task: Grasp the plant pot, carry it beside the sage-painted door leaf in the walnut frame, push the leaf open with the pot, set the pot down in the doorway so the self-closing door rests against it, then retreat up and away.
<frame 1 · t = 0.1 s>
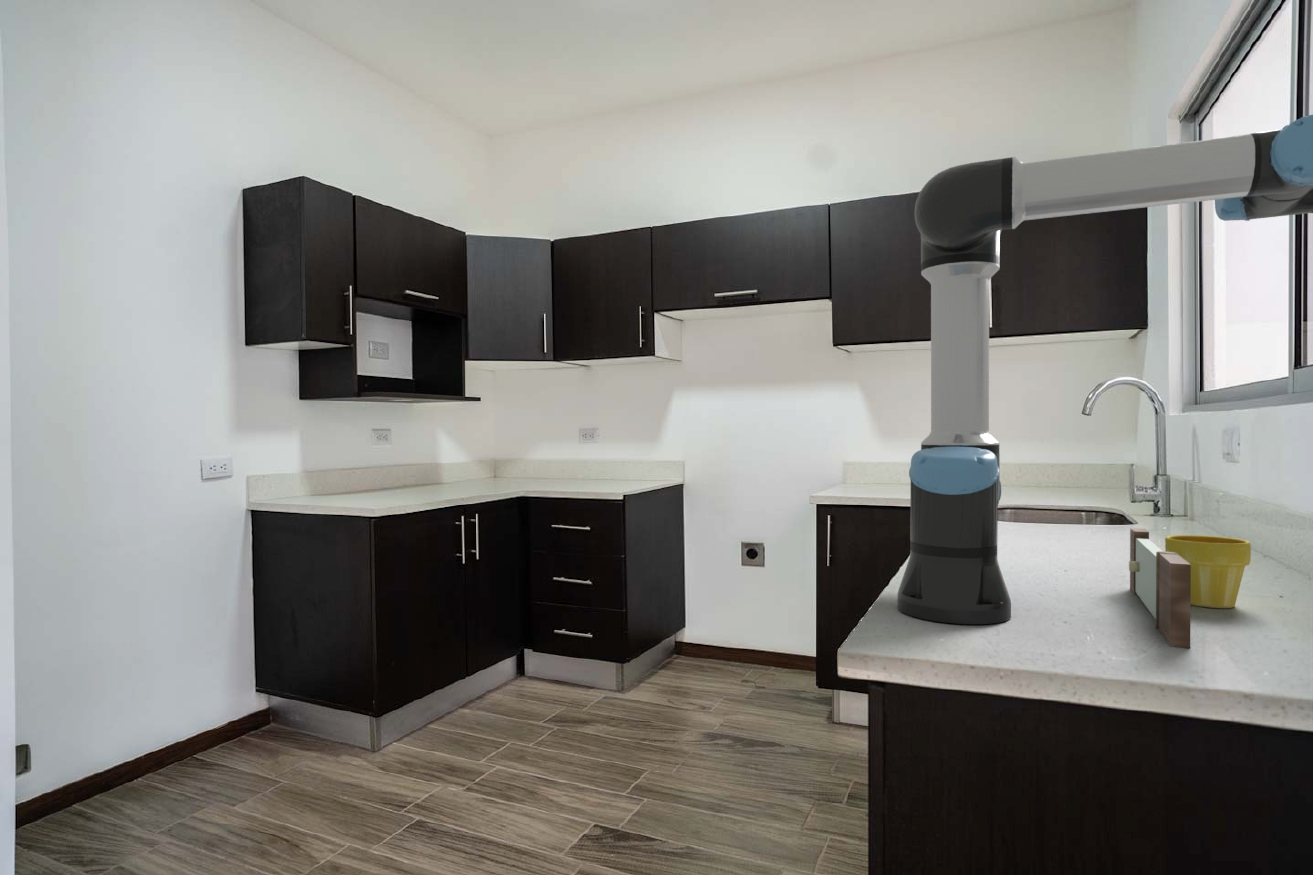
plant pot: (1206, 604, 114), on the counter
door leaf: (1147, 576, 110), point 5 cm above the counter, hinge at 0.0°
door frame: (1152, 609, 110), on the counter
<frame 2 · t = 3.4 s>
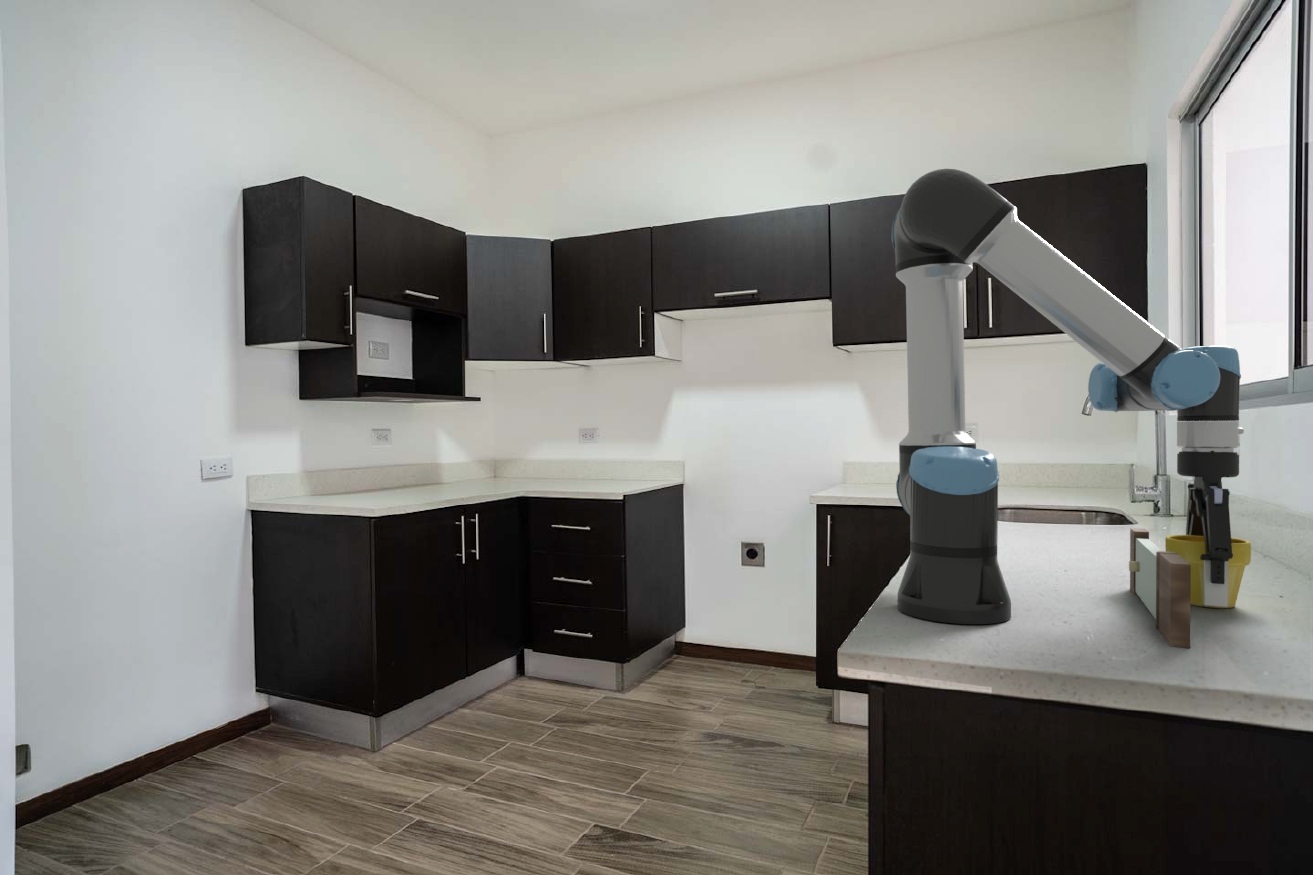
hand: (1206, 597, 114), 1 cm above the counter, fingers closed on plant pot, 10 cm apart
plant pot: (1206, 604, 114), on the counter, touching gripper
everything else where it was.
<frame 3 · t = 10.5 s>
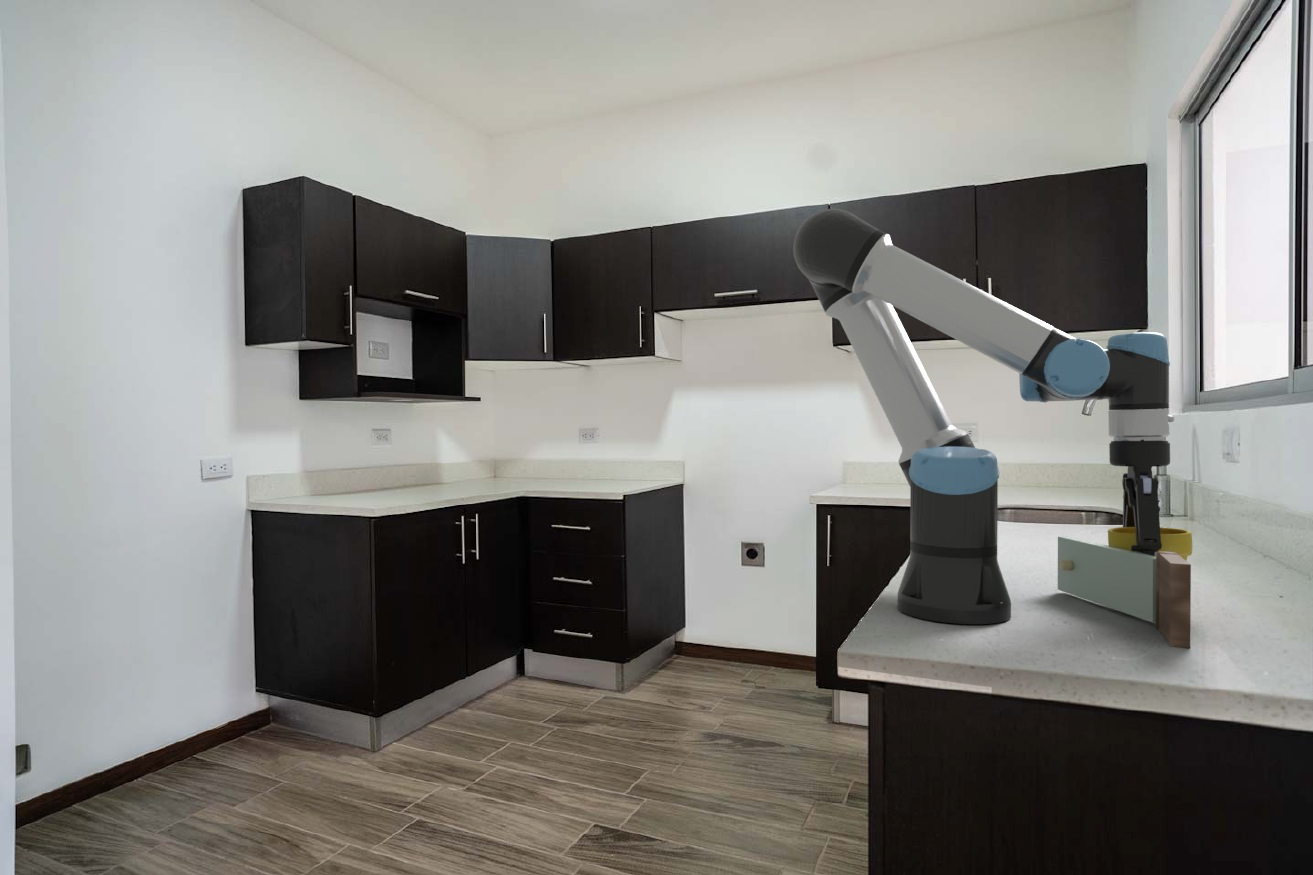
hand: (1141, 589, 111), 3 cm above the counter, fingers closed on plant pot, 10 cm apart
plant pot: (1151, 597, 111), point 1 cm above the counter, touching gripper
door leaf: (1102, 575, 111), point 5 cm above the counter, hinge at 30.0°, touching gripper
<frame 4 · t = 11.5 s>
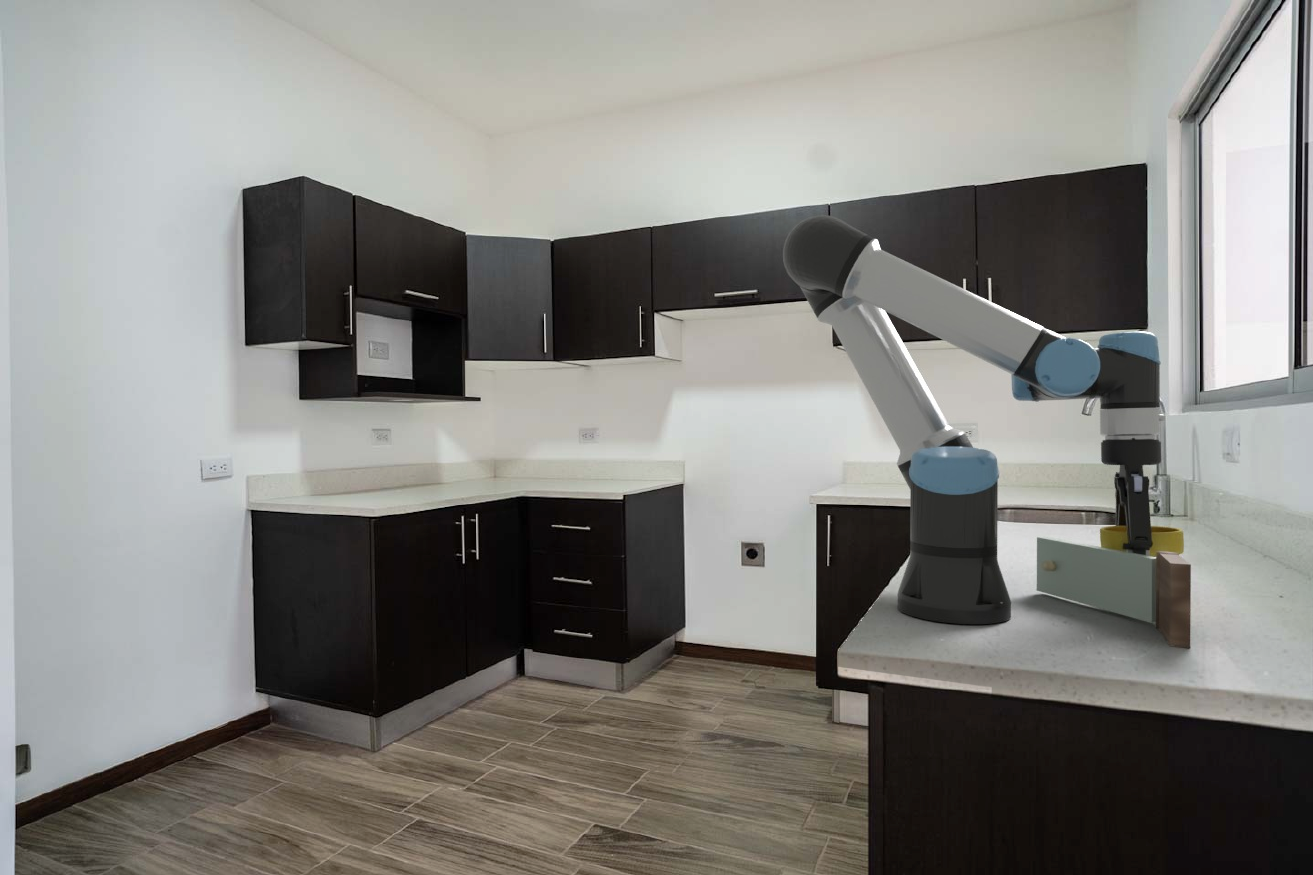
hand: (1133, 588, 112), 3 cm above the counter, fingers closed on plant pot, 10 cm apart
plant pot: (1143, 596, 111), point 2 cm above the counter, touching gripper
door leaf: (1090, 576, 110), point 5 cm above the counter, hinge at 39.7°, touching gripper
when the fingers open (3 cm above the counter, at t = 12.3 s): plant pot drops 2 cm, on the counter.
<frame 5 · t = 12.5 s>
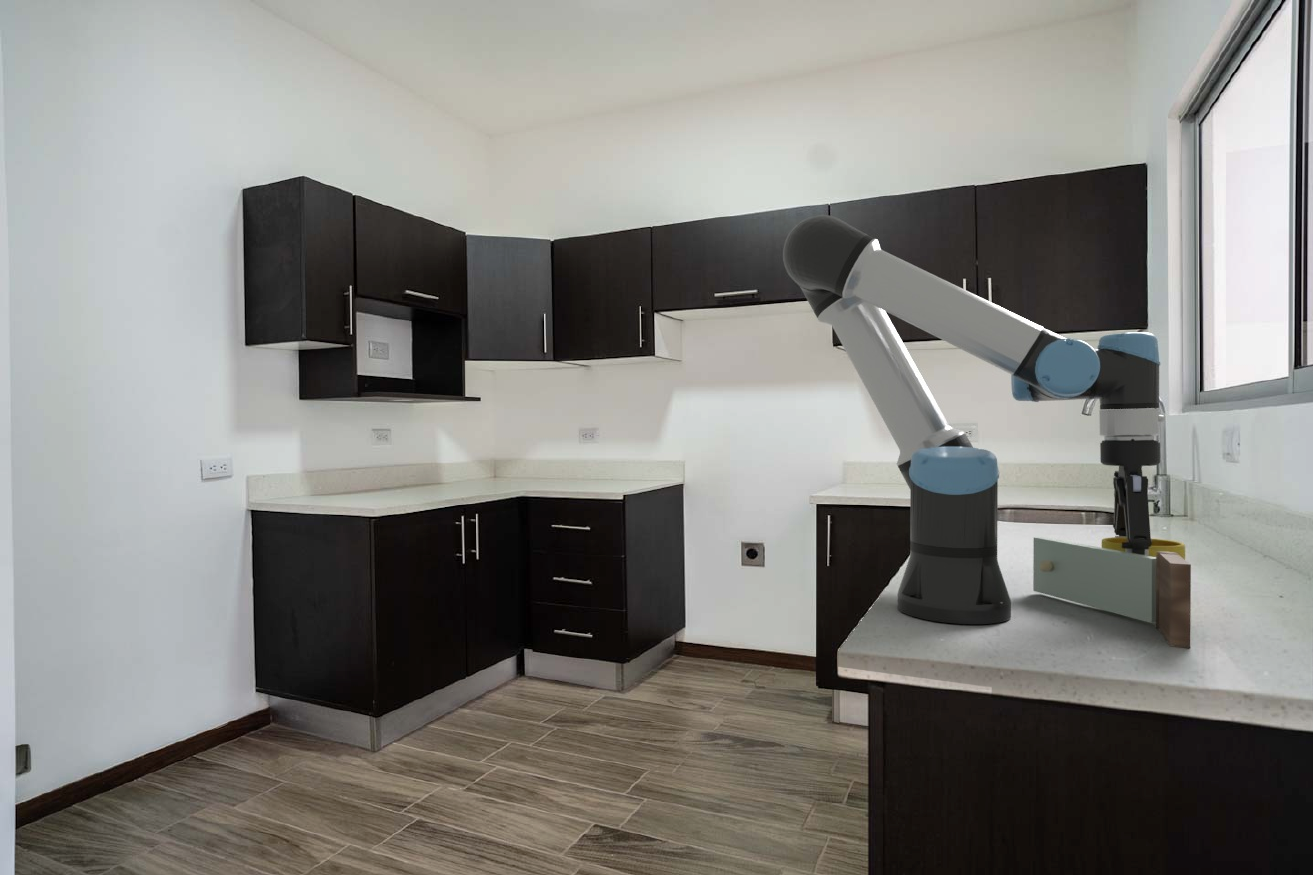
hand: (1131, 586, 112), 3 cm above the counter, fingers open, 11 cm apart
plant pot: (1142, 608, 111), on the counter, touching gripper
door leaf: (1088, 576, 110), point 5 cm above the counter, hinge at 41.4°, touching gripper
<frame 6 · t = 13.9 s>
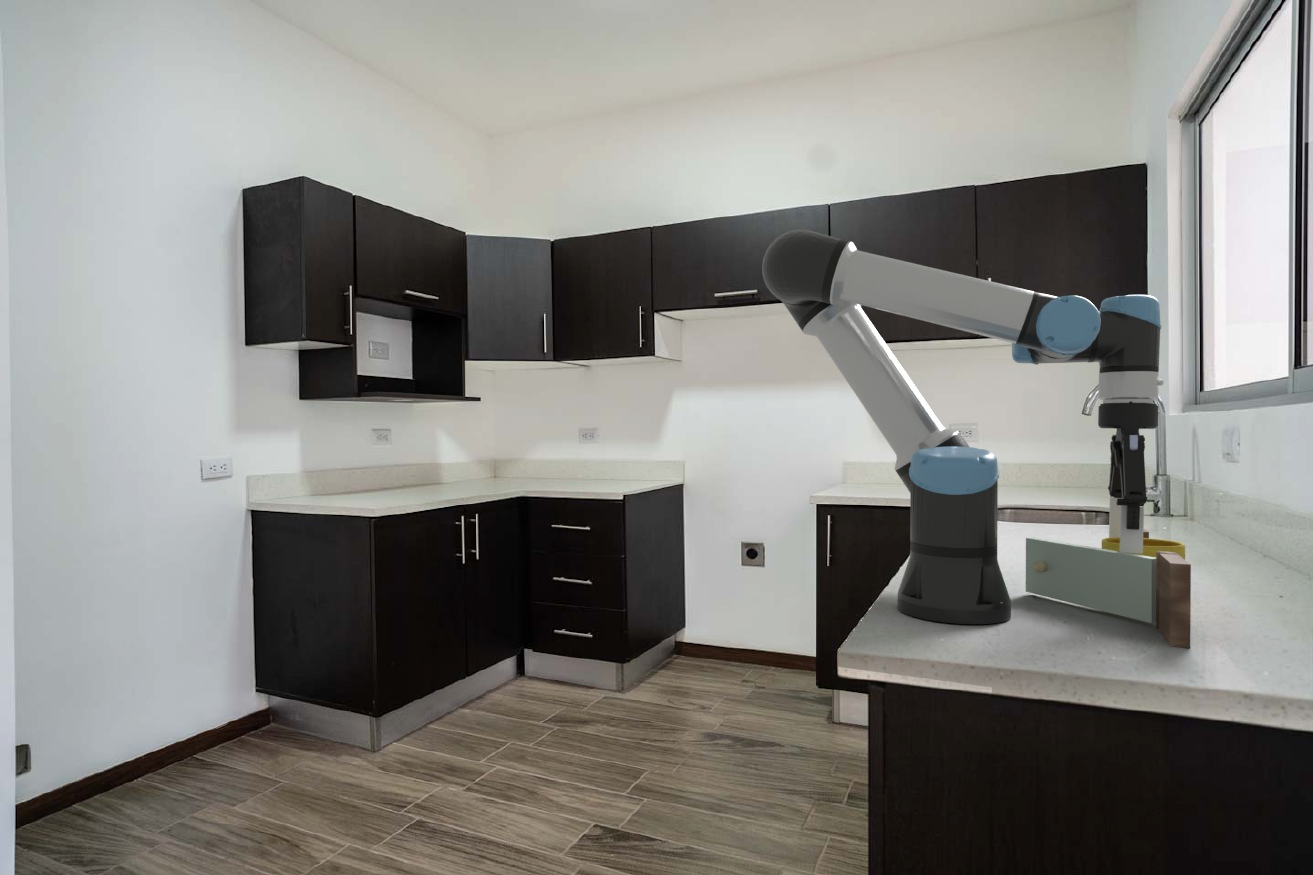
hand: (1124, 545, 112), 9 cm above the counter, fingers open, 13 cm apart
plant pot: (1142, 608, 111), on the counter
door leaf: (1084, 576, 110), point 5 cm above the counter, hinge at 45.5°
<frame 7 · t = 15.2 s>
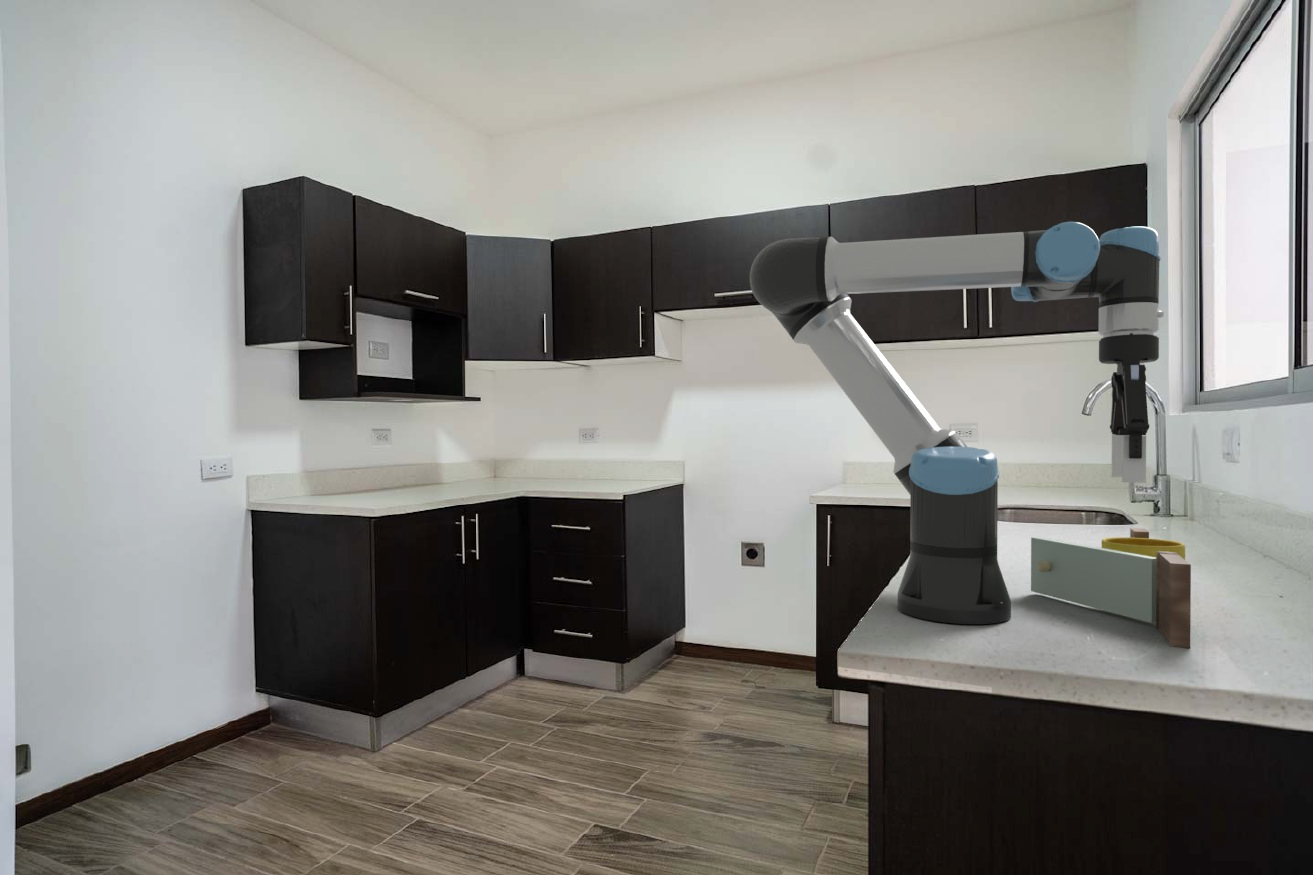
hand: (1127, 479, 112), 19 cm above the counter, fingers open, 13 cm apart
door leaf: (1087, 576, 110), point 5 cm above the counter, hinge at 42.6°
everything else where it was.
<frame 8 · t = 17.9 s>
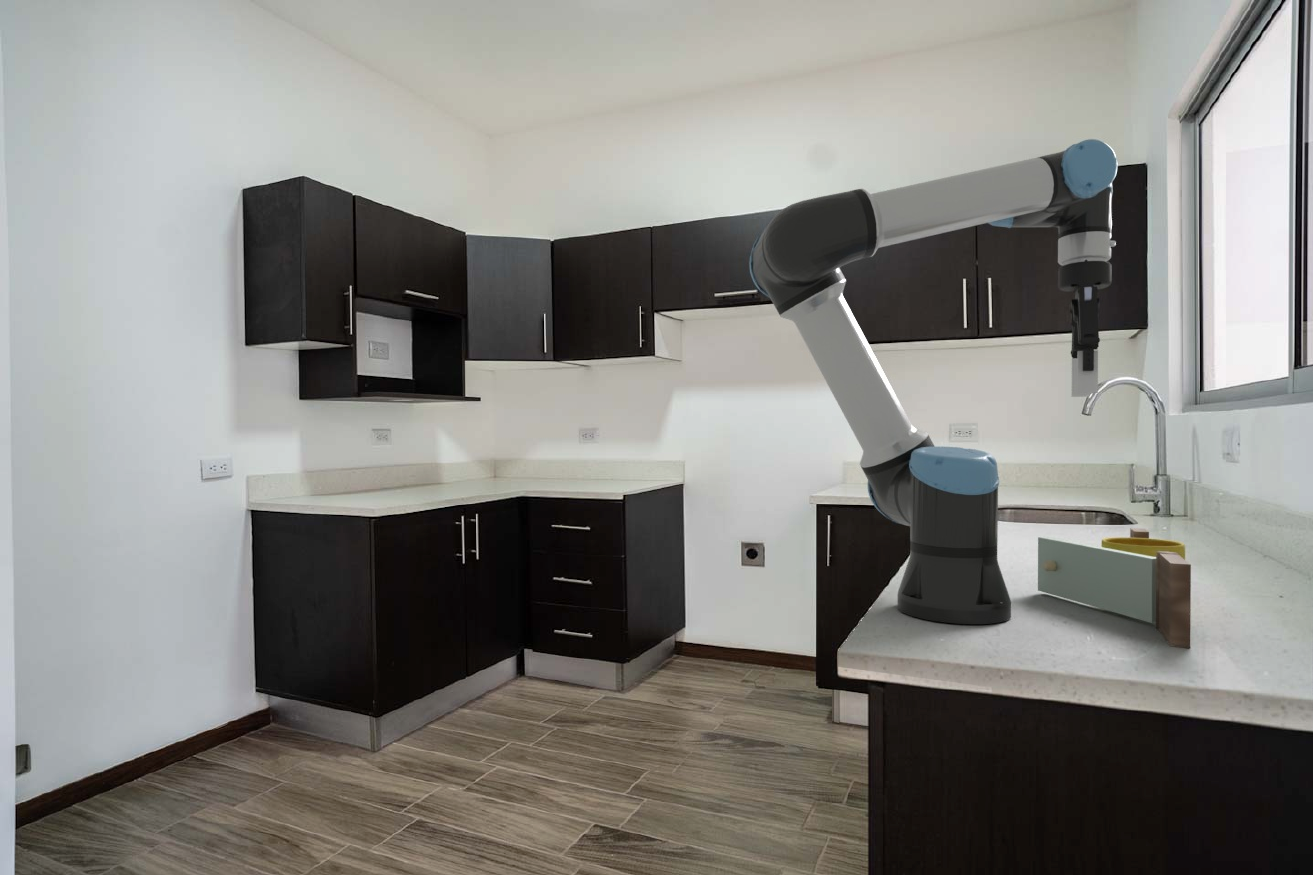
hand: (1083, 395, 123), 32 cm above the counter, fingers open, 13 cm apart
door leaf: (1090, 576, 110), point 5 cm above the counter, hinge at 39.1°
everything else where it was.
at the end: door leaf at +39° (first picture: +0°); plant pot tilted 0°; the gripper is holding nothing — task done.
